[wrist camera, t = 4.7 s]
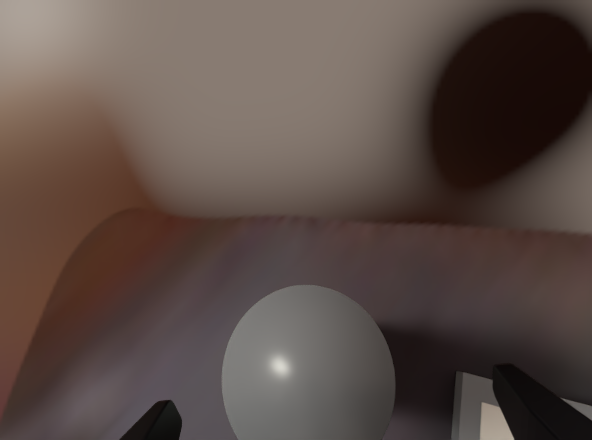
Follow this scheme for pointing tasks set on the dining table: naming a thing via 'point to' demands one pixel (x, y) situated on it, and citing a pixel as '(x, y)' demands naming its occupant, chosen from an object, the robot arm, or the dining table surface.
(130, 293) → the dining table surface
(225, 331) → the dining table surface
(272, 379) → the knob
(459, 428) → the board
